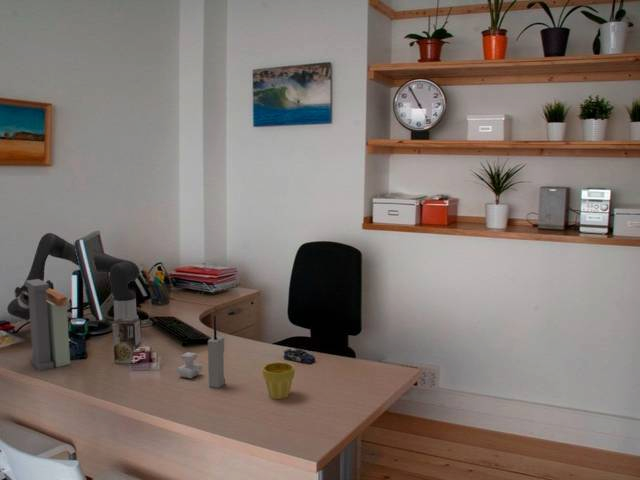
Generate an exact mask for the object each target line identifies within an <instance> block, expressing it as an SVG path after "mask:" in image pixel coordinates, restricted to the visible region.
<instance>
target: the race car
mask: <svg viewBox="0 0 640 480" xmlns="http://www.w3.org/2000/svg"><path fill="white" fill-rule="evenodd" d="M283 354H284V355H283V359H285V360H286V361H290V362H297V363H300V364H303V365H305V364H306V365H310V364H312V363H314V362H316V358H315V357H316V356H314V355H313V354H310V353H308V352H306V351H305V350H302V349H299V348H295V349H293V350H291V348H287V349H285V350H284V351H283ZM315 364H316V363H314V364H312V366H315Z"/></svg>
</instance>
